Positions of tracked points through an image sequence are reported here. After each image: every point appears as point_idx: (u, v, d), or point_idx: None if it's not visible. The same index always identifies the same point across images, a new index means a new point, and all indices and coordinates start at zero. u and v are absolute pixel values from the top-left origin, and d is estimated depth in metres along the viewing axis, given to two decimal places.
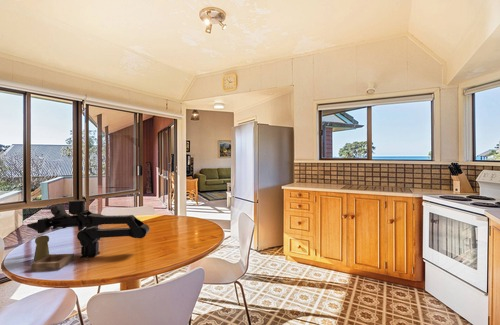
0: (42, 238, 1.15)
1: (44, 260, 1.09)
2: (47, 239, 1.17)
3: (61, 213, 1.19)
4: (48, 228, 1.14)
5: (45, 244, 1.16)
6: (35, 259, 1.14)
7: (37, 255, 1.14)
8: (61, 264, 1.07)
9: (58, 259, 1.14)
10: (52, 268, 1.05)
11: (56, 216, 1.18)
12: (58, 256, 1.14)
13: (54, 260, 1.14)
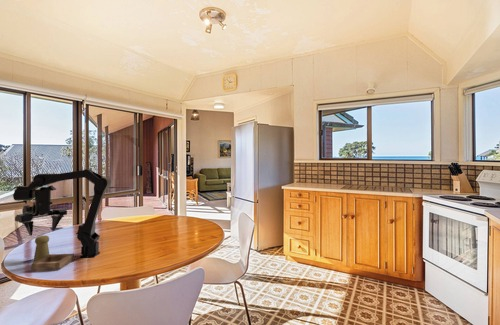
0: (42, 238, 1.15)
1: (44, 260, 1.09)
2: (47, 239, 1.17)
3: None
4: (28, 214, 1.10)
5: (45, 244, 1.16)
6: (35, 259, 1.14)
7: (37, 255, 1.14)
8: (61, 264, 1.07)
9: (58, 259, 1.14)
10: (52, 268, 1.05)
11: (31, 209, 1.15)
12: (58, 256, 1.14)
13: (54, 260, 1.14)
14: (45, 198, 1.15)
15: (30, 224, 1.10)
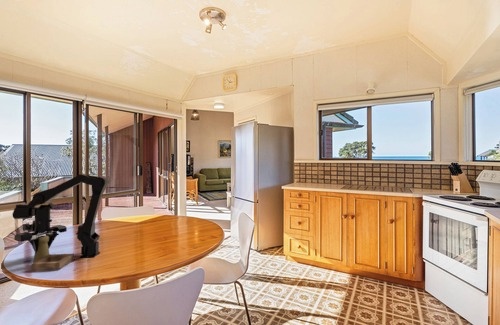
0: (42, 238, 1.15)
1: (44, 260, 1.09)
2: (47, 239, 1.17)
3: None
4: (27, 233, 1.10)
5: (45, 244, 1.16)
6: (35, 259, 1.14)
7: (37, 255, 1.14)
8: (61, 264, 1.07)
9: (58, 259, 1.14)
10: (52, 268, 1.05)
11: (31, 227, 1.15)
12: (58, 256, 1.14)
13: (54, 260, 1.14)
14: (44, 216, 1.15)
15: (35, 241, 1.12)
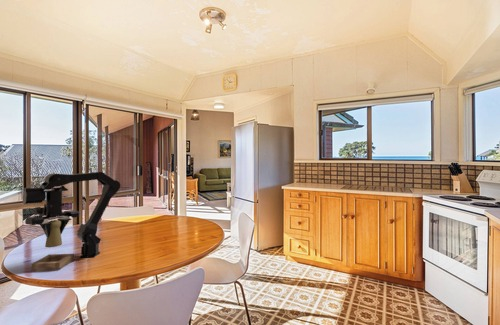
0: (54, 222, 1.09)
1: (44, 260, 1.09)
2: (59, 224, 1.10)
3: None
4: (39, 216, 1.04)
5: (57, 229, 1.10)
6: (47, 244, 1.08)
7: (49, 241, 1.08)
8: (61, 264, 1.07)
9: (58, 259, 1.14)
10: (52, 268, 1.05)
11: (42, 211, 1.09)
12: (58, 256, 1.14)
13: (54, 260, 1.14)
14: (61, 199, 1.11)
15: (47, 226, 1.06)
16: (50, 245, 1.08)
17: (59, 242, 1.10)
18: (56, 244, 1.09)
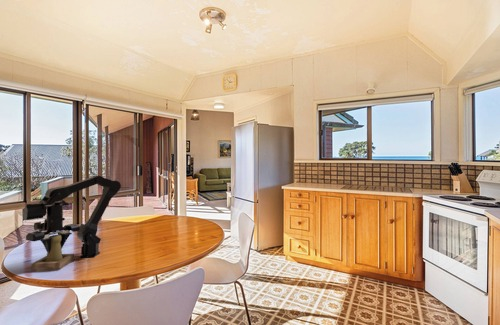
0: (55, 237, 1.09)
1: (44, 260, 1.09)
2: (60, 238, 1.10)
3: None
4: (40, 232, 1.04)
5: (58, 244, 1.10)
6: (47, 260, 1.07)
7: (50, 256, 1.07)
8: (61, 264, 1.07)
9: None
10: (52, 268, 1.05)
11: (43, 226, 1.09)
12: None
13: None
14: (61, 213, 1.11)
15: (48, 241, 1.06)
16: (51, 260, 1.07)
17: (60, 257, 1.10)
18: (57, 259, 1.09)
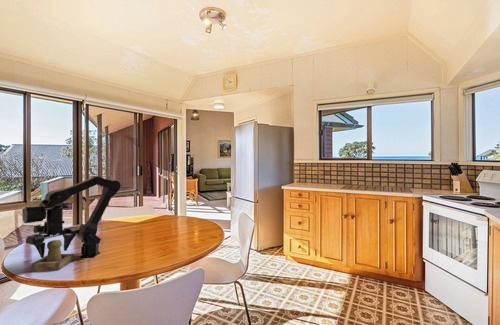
0: (54, 243, 1.09)
1: (44, 260, 1.09)
2: (60, 244, 1.10)
3: None
4: (40, 235, 1.04)
5: (58, 249, 1.10)
6: None
7: (50, 261, 1.07)
8: (61, 264, 1.07)
9: None
10: (52, 268, 1.05)
11: (43, 229, 1.09)
12: None
13: None
14: (61, 216, 1.11)
15: (42, 246, 1.04)
16: None
17: None
18: None
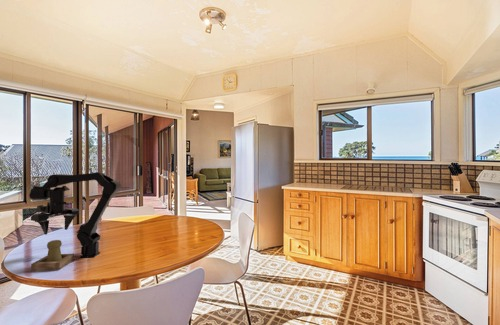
0: (54, 243, 1.09)
1: (44, 260, 1.09)
2: (60, 244, 1.10)
3: None
4: (44, 214, 1.13)
5: (58, 249, 1.10)
6: None
7: (50, 261, 1.07)
8: (61, 264, 1.07)
9: None
10: (52, 268, 1.05)
11: (46, 209, 1.18)
12: None
13: None
14: (58, 198, 1.18)
15: (46, 223, 1.13)
16: None
17: None
18: None
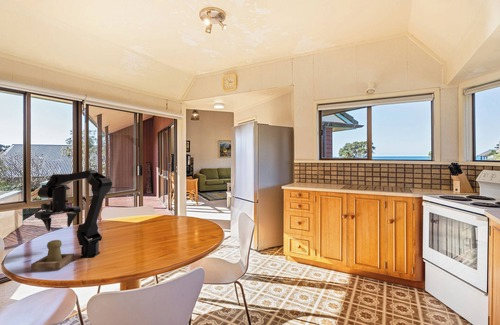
0: (54, 243, 1.09)
1: (44, 260, 1.09)
2: (60, 244, 1.10)
3: None
4: (46, 211, 1.19)
5: (58, 249, 1.10)
6: None
7: (50, 261, 1.07)
8: (61, 264, 1.07)
9: None
10: (52, 268, 1.05)
11: (49, 207, 1.25)
12: None
13: None
14: (58, 197, 1.24)
15: (48, 220, 1.19)
16: None
17: None
18: None
